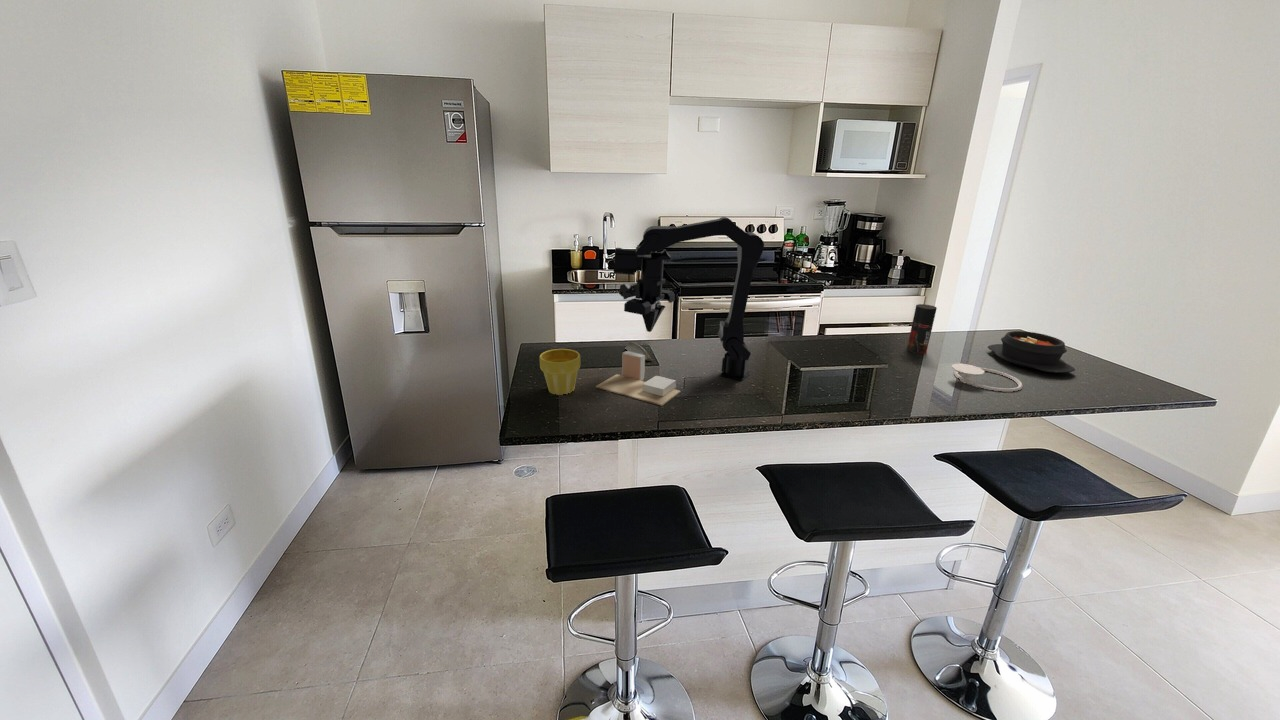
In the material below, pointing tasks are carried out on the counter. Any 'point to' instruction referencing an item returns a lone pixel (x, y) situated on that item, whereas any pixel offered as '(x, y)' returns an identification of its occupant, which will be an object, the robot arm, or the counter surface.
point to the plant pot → (560, 369)
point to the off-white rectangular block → (633, 365)
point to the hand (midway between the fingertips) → (649, 331)
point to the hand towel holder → (975, 371)
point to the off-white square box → (659, 385)
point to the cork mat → (634, 389)
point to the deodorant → (921, 328)
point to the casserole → (1033, 351)
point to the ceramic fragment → (638, 350)
